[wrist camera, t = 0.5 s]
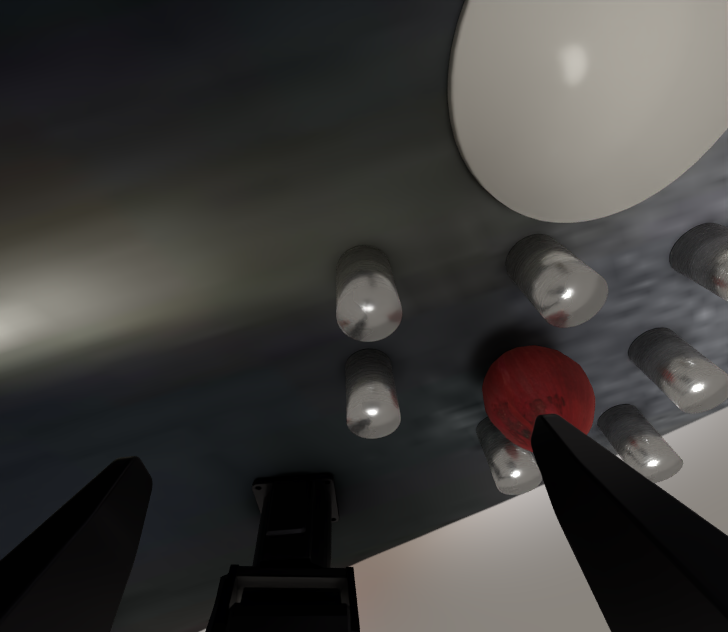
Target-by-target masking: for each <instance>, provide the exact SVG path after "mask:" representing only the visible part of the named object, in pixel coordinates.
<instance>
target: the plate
mask: <svg viewBox="0 0 728 632" xmlns="http://www.w3.org/2000/svg"><path fill="white" fill-rule="evenodd" d="M448 107H449V117H450V122H451V127H452V131H453V135H454V139H455V142H456V144H457V147H458V149H459V152H460V155H461V157H462V159H463V160H464V162H465V164H466V166H467V168H468V169H469V171H470V172H471V174H472V175H473V176H474V177H475V179H476V180H477V181H478V183H479V184H480V185H481V186H482V187H483V188H484V189H486V190H487V191H488V192H489V193H490V194H491V195H492V196H493V197H495V198H496V199H497V200H498V201H500V202H501V203H503V204H504V205H506V206H507V207H508V208H510V209H511V210H513V211H516V212H518V213H520V214H522V215H524V216H527V217H530V218H533V219H537V220H540V221H547V222H555V223H575V222H582V221H590V220H594V219H598V218H602V217H606V216H609V215H612V214H615V213H618V212H620V211H623V210H626V209H628V208H630V207H632V206H634V205H636V204H638V203H640V202H642V201H644V200H646V199H647V198H649V197H651V196H652V195H654V194H656V193H657V192H659V191H661V190H662V189H663V188H665V187H666V186H667V185H669V184H670V183H672V182H673V181H674V180H676V179H677V178H678V177H680V176H681V175H682V174H683V173H684V172H685V171H687V170H688V169H689V168H690V167H691V166H692V165H694V164H695V163H696V162H697V161H698V160H699V159H700V158H701V157H702V156H703V155H704V154H705V153H706V152H707V151H708V150H709V149H710V148H711V147H712V146H713V145H714V143H715V142H716V141H717V140H718V139H719V137H720V136H721V135H722V134H723V133H724V132H725V130H726V129H727V128H728V0H465V1H464V4H463V7H462V10H461V13H460V16H459V19H458V22H457V25H456V29H455V34H454V38H453V43H452V47H451V52H450V60H449V69H448Z"/></svg>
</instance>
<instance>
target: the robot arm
mask: <svg viewBox="0 0 728 632" xmlns="http://www.w3.org/2000/svg"><path fill="white" fill-rule="evenodd" d="M531 447H532V450H533V453H534V456H535V459H536V462H537V464H538V467H539V470H540V473H541V476H542V478H543V481H544V484H545V487H546V490H547V492H548V495H549V498H550V501H551V504H552V506H553V509H554V511H555V514H556V516H557V519H558V521H559V523H560V525H561V527H562V529H563V531H564V534H565V536H566V538H567V540H568V542H569V544H570V546H571V548H572V550H573V552H574V555H575V557H576V559H577V561H578V563H579V565H580V567H581V569H582V571H583V574H584V576H585V578H586V580H587V582H588V584H589V586H590V588H591V590H592V592H593V595H594V596H595V599H596V601H597V602H598V605H599V607H600V609H601V611H602V613H603V615H604V618H605V620H606V622H607V624H608V626H609V628H610V630H611V632H728V536H727V535H726V534H724V533H723V532H722V531H720V530H719V529H717V528H716V527H715V526H713V525H712V524H710V523H709V522H708V521H706V520H705V519H704V518H702V517H701V516H699V515H698V514H697V513H695V512H694V511H692V510H691V509H690V508H688V507H687V506H685V505H684V504H683V503H681V502H680V501H678V500H677V499H676V498H674V497H673V496H671V495H670V494H669V493H667V492H666V491H664V490H663V489H662V488H660V487H659V486H657V485H656V484H655V483H653V482H652V481H650V480H649V479H648V478H646V477H645V476H643V475H642V474H641V473H639V472H638V471H636V470H635V469H634V468H632V467H631V466H629V465H628V464H627V463H625V462H624V461H622V460H621V459H619V458H618V457H617V456H615V455H614V454H613V453H611V452H610V451H608V450H607V449H606V448H604V447H603V446H601V445H600V444H599V443H597V442H596V441H594V440H593V439H592V438H590V437H589V436H587V435H586V434H584V433H583V432H582V431H580V430H579V429H577V428H576V427H575V426H573V425H572V424H570V423H569V422H568V421H566V420H565V419H563V418H562V417H561V416H559V415H557V414H543V415H538V416H537V417H536V420H535V423H534V428H533V432H532V436H531ZM252 490H253V493H254V496H255V498H256V501H257V504H258V507H259V510H260V513H261V518H260V524H259V530H258V536H257V542H256V548H255V554H254V560H253V566H239V565H231V566H230V570H229V573H228V574H227V575H225V576H222V577H221V579H220V583H219V588H218V592H217V596H216V600H215V604H214V608H213V611H212V614H211V617H210V620H209V623H208V626H207V628H206V631H205V632H360V625H359V616H358V607H357V597H356V588H355V579H354V569H353V567H346V568H331V523H334V522H337V521H339V511H338V504H337V497H336V491H335V484H334V477H333V476H332V475H330V474H323V475H311V476H298V477H286V478H274V479H261V480H255V481H254V482H253V485H252ZM151 491H152V478H151V476H150V474H149V473H148V471H147V469H146V468H145V466H144V464H143V463H142V461H141V459H140V458H139V457H137V456H130V457H121V458H118V459H116V460H114V461H113V462H112V463H111V464H110V465H108V466H107V467H106V468H105V469H104V470H103V471H102V472H100V473H99V474H98V475H97V476H96V477H95V478H94V479H92V480H91V481H90V482H89V483H88V484H87V485H86V486H85V487H83V488H82V489H81V490H80V491H79V492H78V493H77V494H75V495H74V496H73V497H72V498H71V499H70V500H69V501H67V502H66V503H65V504H64V505H63V506H62V507H61V508H60V509H58V510H57V511H56V512H55V513H54V514H53V515H52V516H50V517H49V518H48V519H47V520H46V521H45V522H44V523H42V524H41V525H40V526H39V527H38V528H37V529H36V530H35V531H33V532H32V533H31V534H30V535H29V536H28V537H27V538H25V539H24V540H23V541H22V542H21V543H20V544H19V545H18V546H16V547H15V548H14V549H13V550H12V551H11V552H10V553H8V554H7V555H6V556H5V557H4V558H3V559H2V560H0V632H110V631H111V628H112V625H113V622H114V619H115V616H116V613H117V610H118V607H119V604H120V602H121V599H122V596H123V593H124V590H125V587H126V584H127V581H128V578H129V576H130V573H131V570H132V567H133V563H134V560H135V557H136V553H137V549H138V545H139V541H140V537H141V533H142V529H143V525H144V520H145V516H146V512H147V508H148V504H149V500H150V495H151Z"/></svg>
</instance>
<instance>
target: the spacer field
mask: <svg viewBox="0 0 728 632" xmlns="http://www.w3.org/2000/svg"><path fill="white" fill-rule="evenodd" d="M670 264H671V266H672V268H673V269H674V270H676V271H677V272H679V273H681V274H682V275H684V276H686V277H687V278H689V279H691V280H692V281H694V282H696V283H697V284H699V285H701V286H702V287H704V288H706V289H707V290H709V291H711V292H712V293H714V294H716V295H717V296H719V297H721V298H722V299H724V300H726V301H727V302H728V228H726V227H724V226H721V225H719V224H715V223H707V224H702V225H700V226H697V227H695V228H693V229H691V230H690V231H688V232H687V233H685V234H684V235H683V236H682V237H681V238H680V239H679V240H678V241H677V243H676V244H675V245H674V247H673V249H672V251H671V254H670ZM506 271H507V273H508V275H509V277H510V278H511V279H512V280H513V281H514V283H515V284H516V285H517V286H518V287H519V289H520V290H521V291H522V292H523V293H524V295H525V296H526V297H527V298H528V299H529V301H530V302H531V303H532V304H533V305H534V307H535V308H536V309H537V310H538V311H539V313H540V314H541V315H542V316H543V317H544V319H545V320H546V321H547V322H548V323H549V324H551V325H553V326H556V327H561V328H567V327H573V326H577V325H580V324H582V323H584V322H586V321H588V320H589V319H591V318H592V317H593V316H594V315H595V314H597V313H598V311H599V310H600V309H601V308H602V306H603V305H604V303H605V301H606V299H607V295H608V286H607V283H606V281H605V280H604V278H603V277H602V276H600V275H599V274H598V273H596V272H595V271H594V270H593V269H591V268H590V267H589V266H588V265H586V264H585V263H584V262H582V261H581V260H580V259H579V258H577V257H576V256H575V255H574V254H572V253H571V252H570V251H568V250H567V249H566V248H565V247H563V246H562V245H561V244H560V243H558V242H557V241H556V240H555V239H553V238H552V237H550V236H548V235H543V234H537V235H532V236H529V237H526V238H524V239H522V240H521V241H519V242H518V243H517V244H516V245H515V246H514V247H513V248H512V250H511V251H510V253H509V254H508V257H507V260H506ZM336 318H337V322H338V325H339V327H340V328H341V330H342V331H343V332H344V333H345V334H346V335H347V336H349V337H351V338H353V339H355V340H358V341H364V342H372V341H377V340H381V339H383V338H385V337H387V336H389V335H390V334H392V333H393V332H394V331H395V330H396V328H397V327H398V326H399V324H400V322H401V318H402V307H401V303H400V300H399V296H398V292H397V289H396V285H395V281H394V278H393V274H392V270H391V267H390V263H389V260H388V258H387V257H386V255H385V254H384V253H383V252H382V251H380V250H379V249H377V248H374V247H371V246H357V247H354V248H351V249H350V250H348V251H347V252H345V253H344V254H343V255H342V256H341V258H340V259H339V261H338V264H337V269H336ZM628 355H629V358H630V360H631V361H632V362H633V363H634V364H635V365H636V366H637V367H638V368H639V369H640V370H641V371H642V372H643V373H644V374H645V375H646V376H647V377H648V378H649V379H650V380H652V381H653V382H654V383H655V384H656V385H657V386H658V387H659V388H660V389H661V390H662V391H663V392H664V393H665V394H666V395H667V396H668V397H669V398H670V399H671V400H672V401H673V402H674V403H675V404H676V405H677V406H678V407H679V408H680V409H681V410H682V411H684V412H686V413H699V412H704V411H707V410H710V409H712V408H714V407H716V406H718V405H719V404H721V403H722V402H724V401H725V400H726V399H727V398H728V374H726V373H725V372H724V371H722V370H721V369H720V368H719V367H717V366H716V365H715V364H714V363H712V362H711V361H710V360H708V359H707V358H706V357H705V356H703V355H702V354H701V353H700V352H698V351H697V350H696V349H694V348H693V347H692V346H691V345H689V344H688V343H687V342H685V341H684V340H683V339H682V338H680V337H679V336H678V335H677V334H675V333H674V332H673V331H671V330H670V329H667V328H657V329H653V330H650V331H648V332H646V333H644V334H642V335H641V336H639V337H638V338H637V339H636V340H635V341H634V342H633V343H632V345H631V346H630V348H629V352H628ZM345 374H346V407H347V425H348V428H349V429H350V430H351V431H352V432H353V433H354V434H356V435H358V436H360V437H363V438H380V437H384V436H386V435H389V434H390V433H392V432H393V431H395V430H396V429H397V427H398V426H399V424H400V421H401V416H400V410H399V405H398V399H397V394H396V389H395V383H394V378H393V372H392V367H391V362H390V360H389V358H388V357H387V355H385V354H384V353H383V352H381V351H378V350H374V349H365V350H361V351H358V352H356V353H354V354H353V355H351V356H350V357H349V359H348V360H347V362H346V366H345ZM598 427H599V428H600V430H601V431H602V432H603V434H604V435H605V436H606V438H607V439H608V440H609V442H610V443H611V445H612V446H613V447H614V449H615V450H616V451H617V453H618V454H619V456H620V457H621V458H622V460H623V461H624V462H625V463H627V464H628V465H629V466H631V467H632V468H634V469H635V470H636V471H638V472H639V473H641V474H642V475H643V476H645V477H646V478H648V479H649V480H650V481H652V482H653V483H657V482H660V481H663V480H666V479H668V478H670V477H672V476H673V475H675V474H676V473H677V472H678V471H679V470H680V469H681V468H682V465H683V461H682V459H681V458H680V457H679V456H678V455H677V454H676V452H675V451H673V449H672V448H671V447H670V446H669V445H668V443H667V442H666V441H665V440H664V439H663V438H662V436H661V435H660V434H659V433H658V432H657V431H656V430H655V429H654V427H653V426H652V425H651V424H650V423H649V422H648V421H647V419H646V418H645V417H644V416H643V415H642V414H641V413H640V412H639V410H638V409H637V408H636V407H635V406H632V405H619V406H616V407H613V408H611V409H609V410H607V411H606V412H605V413H604V414H602V416H601V417H600V418H599V420H598ZM476 433H477V436H478V438H479V441H480V444H481V446H482V449H483V451H484V454H485V457H486V459H487V462H488V465H489V467H490V470H491V472H492V475H493V478H494V480H495V483H496V485H497V488H498V490H499V491H500V492H502V493H504V494H508V495H517V494H523V493H526V492H528V491H531V490H532V489H534V488H536V487H537V486H538V485H539V484H540V482H541V481H542V476H541V473H540V470H539V468H538V466H537V464H536V462H535V460H534V458H533V456H532V454H531V452H530V451H528V450H526V449H523V448H521V447H519V446H517V445H515V444H514V443H512V442H511V441H510V440H508V439H507V438H506V437H505V436H504V435H503V434H502V432H501V431H500V430H499V429H498V428H497V427H496V426H495V425H494V424H493V423H492V422H491V420H490V419H489V417H487V418H486V419H484V420H483V421H481V422H480V423H479V425H478V426H477V429H476Z"/></svg>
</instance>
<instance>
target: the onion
mask: <svg viewBox="0 0 728 632" xmlns="http://www.w3.org/2000/svg"><path fill="white" fill-rule="evenodd" d="M482 391H483V399H484V405H485V410H486V413H487V415H488V417H489V419H490V420H491V422H492V423H493V424H494V425H495V426H496V427H497V428H498V429H499V430H500V431H501V432H502V434H503V435H504V436H505V437H506V438H507V439H508V440H510V441H511V442H512V443H514V444H515V445H517V446H519V447H521V448H523V449H526V450H528V451H531V452H533V450H532V447H531V436H532V432H533V428H534V423H535V420H536V417H537V416H538V415H543V414H557V415H559V416H561V417H562V418H563V419H565V420H566V421H568V422H569V423H570V424H572V425H573V426H575V427H576V428H577V429H579V430H580V431H582V432H583V433H584V434H586V435H587V434H588V432H589V431H590V428H591V426H592V423H593V418H594V411H595V396H594V392H593V388H592V386H591V384H590V382H589V380H588V378H587V375H586V374H585V372H584V371H583V369H582V368H581V366H580V365H579V364H577V363H576V362H575V361H573V360H572V359H570V358H569V357H567V356H566V355H564V354H562V353H561V352H559V351H558V350H554V349H551V348H547V347H541V346H536V345H532V346H523V347H516V348H514V349H512V350H509V351H507V352H505V353H504V354H502V355H501V356H500V357H499V358H498V359H497V360H496V361H495V362H494V363H493V364H492V365H491V366H490V368H489V370H488V372H487V374H486V376H485V378H484V382H483V386H482Z"/></svg>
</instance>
